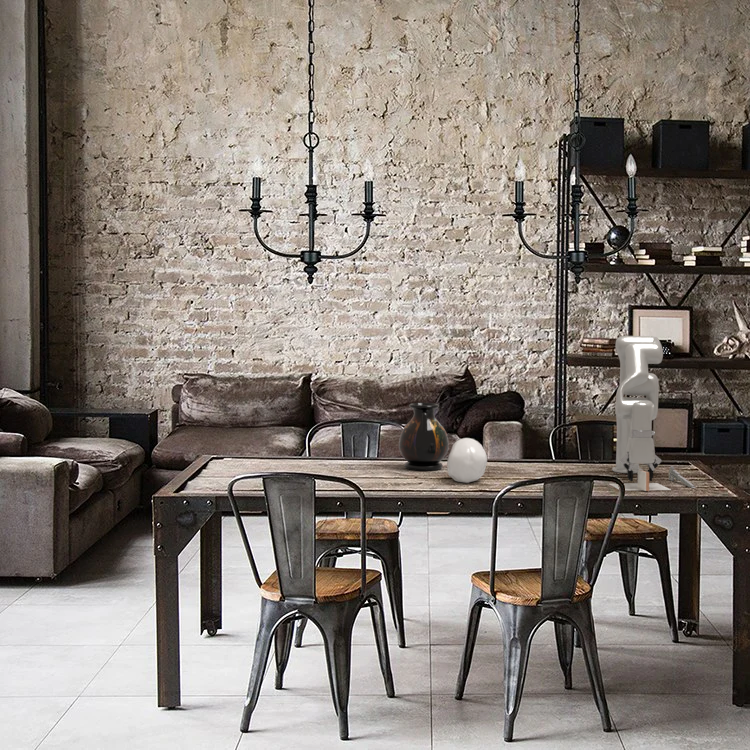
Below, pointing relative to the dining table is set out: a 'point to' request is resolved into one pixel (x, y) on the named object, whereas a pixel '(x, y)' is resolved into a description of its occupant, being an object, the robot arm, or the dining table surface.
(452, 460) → the white egg
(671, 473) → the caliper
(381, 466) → the dining table surface
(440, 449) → the black vase
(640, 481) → the tile
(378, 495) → the dining table surface
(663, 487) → the mat
